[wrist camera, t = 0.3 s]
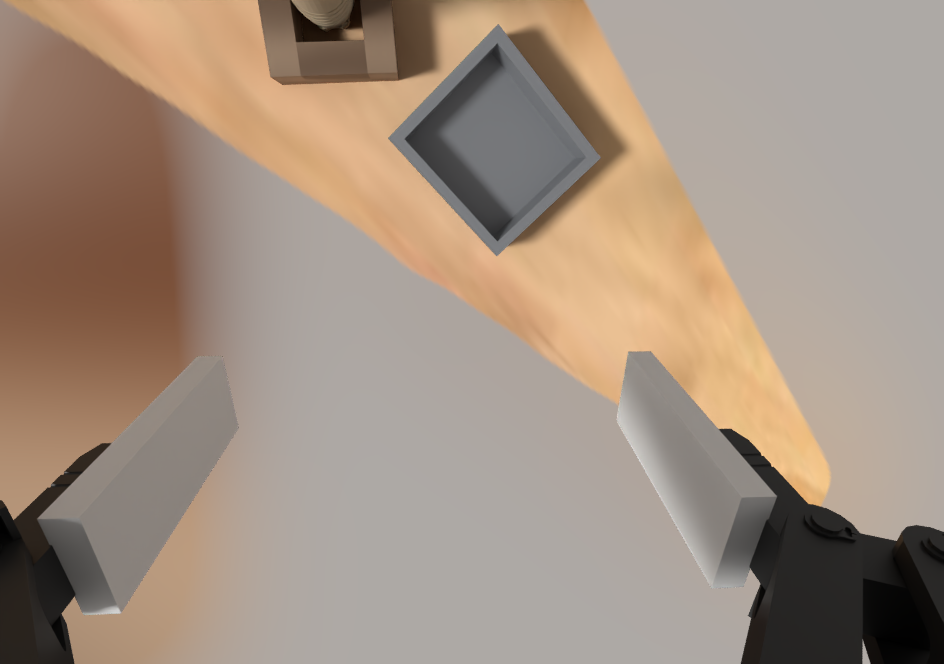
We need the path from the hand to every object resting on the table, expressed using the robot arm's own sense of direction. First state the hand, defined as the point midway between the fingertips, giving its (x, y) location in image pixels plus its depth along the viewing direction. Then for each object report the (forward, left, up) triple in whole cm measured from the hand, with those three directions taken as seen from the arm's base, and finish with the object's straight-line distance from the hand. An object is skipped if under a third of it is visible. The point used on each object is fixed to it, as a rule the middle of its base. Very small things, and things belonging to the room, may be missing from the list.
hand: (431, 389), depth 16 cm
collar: (-18, -5, -26) cm, 32 cm away
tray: (-8, +6, -26) cm, 28 cm away
